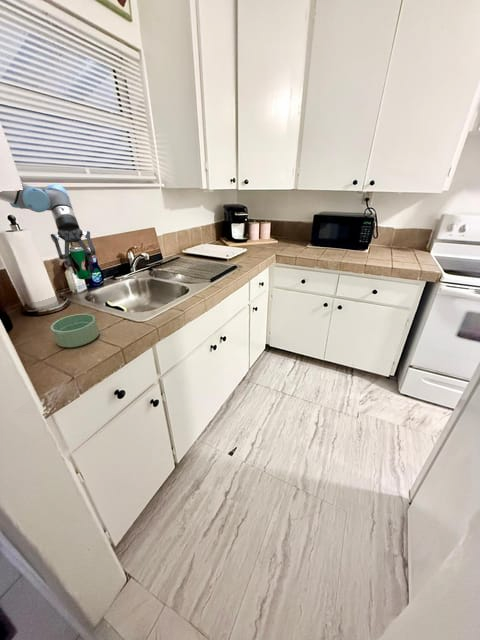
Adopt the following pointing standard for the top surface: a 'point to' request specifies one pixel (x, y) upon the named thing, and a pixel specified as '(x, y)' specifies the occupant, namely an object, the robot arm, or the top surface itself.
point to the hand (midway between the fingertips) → (83, 271)
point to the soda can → (80, 262)
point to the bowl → (75, 330)
